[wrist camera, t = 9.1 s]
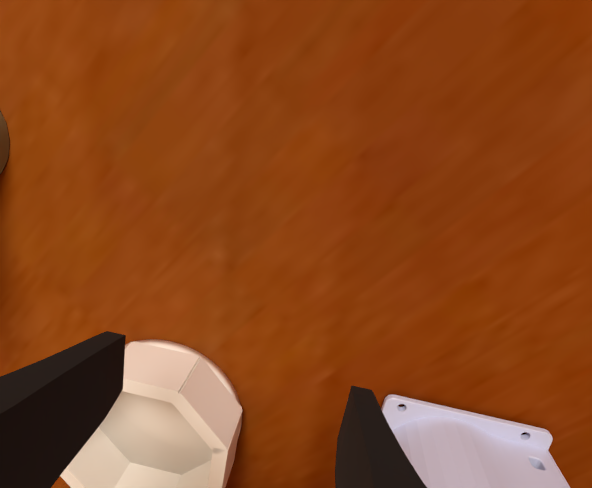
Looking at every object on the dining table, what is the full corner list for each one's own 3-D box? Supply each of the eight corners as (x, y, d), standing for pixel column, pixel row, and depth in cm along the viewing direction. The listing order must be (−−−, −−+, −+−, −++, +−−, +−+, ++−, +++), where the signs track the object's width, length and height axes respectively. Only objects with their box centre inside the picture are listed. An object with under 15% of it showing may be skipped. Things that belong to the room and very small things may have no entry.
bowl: (252, 359, 25) (235, 404, 21) (231, 485, 28) (213, 544, 24) (93, 323, 25) (48, 360, 21) (90, 450, 28) (50, 502, 25)
